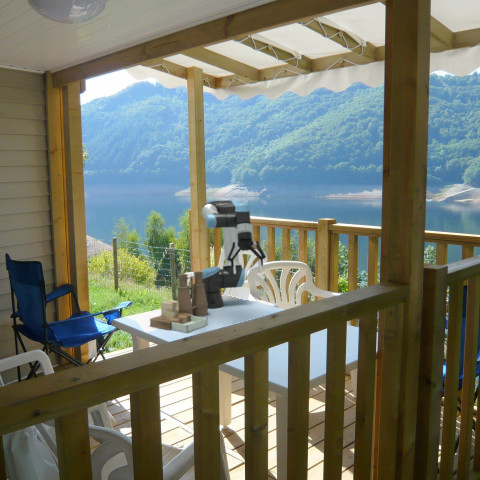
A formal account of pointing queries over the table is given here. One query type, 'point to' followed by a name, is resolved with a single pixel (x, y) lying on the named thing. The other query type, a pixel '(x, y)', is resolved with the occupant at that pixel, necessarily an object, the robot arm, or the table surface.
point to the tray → (190, 324)
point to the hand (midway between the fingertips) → (247, 273)
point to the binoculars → (192, 295)
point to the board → (169, 321)
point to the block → (169, 309)
